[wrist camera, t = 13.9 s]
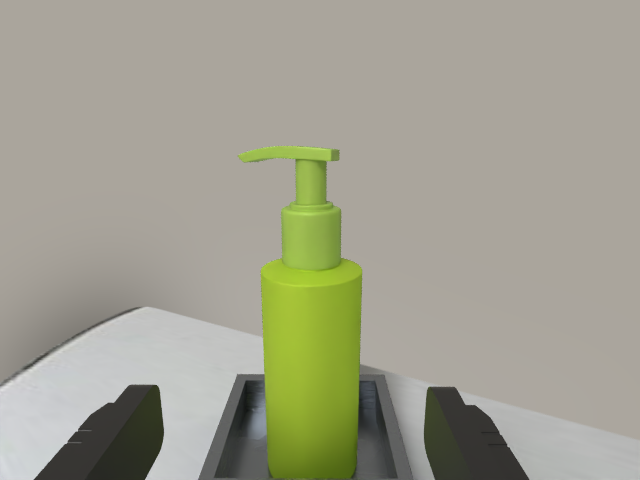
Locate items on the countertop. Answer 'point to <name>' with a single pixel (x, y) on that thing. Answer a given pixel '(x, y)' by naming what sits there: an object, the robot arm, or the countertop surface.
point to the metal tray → (251, 435)
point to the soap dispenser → (310, 330)
